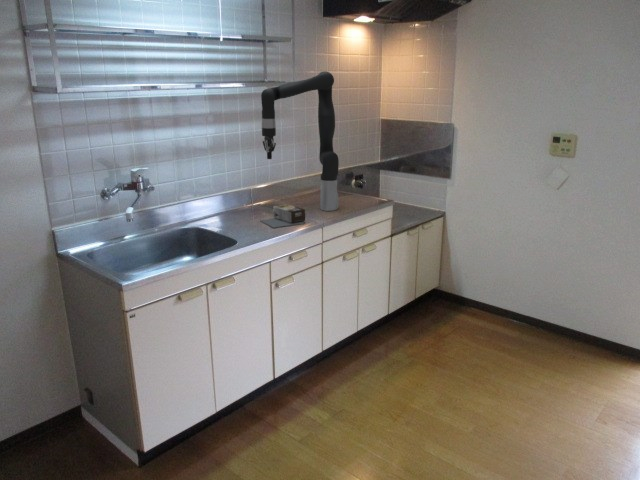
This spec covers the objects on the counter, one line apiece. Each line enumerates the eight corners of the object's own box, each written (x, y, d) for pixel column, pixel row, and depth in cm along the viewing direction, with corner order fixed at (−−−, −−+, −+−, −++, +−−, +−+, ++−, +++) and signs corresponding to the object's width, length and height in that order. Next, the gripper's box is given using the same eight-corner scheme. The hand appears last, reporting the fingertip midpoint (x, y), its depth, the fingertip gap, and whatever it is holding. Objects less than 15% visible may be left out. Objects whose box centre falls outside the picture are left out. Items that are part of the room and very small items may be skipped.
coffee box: (286, 203, 283) (305, 208, 272) (286, 215, 285) (305, 220, 274) (272, 206, 277) (291, 211, 266) (273, 217, 279) (292, 224, 268)
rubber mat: (291, 217, 283) (291, 216, 283) (305, 224, 270) (305, 222, 270) (260, 221, 275) (260, 220, 275) (273, 228, 261) (273, 227, 261)
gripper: (280, 127, 281) (280, 160, 286) (269, 125, 292) (270, 157, 297) (267, 128, 278) (268, 161, 283) (257, 126, 289) (258, 157, 294)
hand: (269, 159), depth 290 cm, fingers closed
